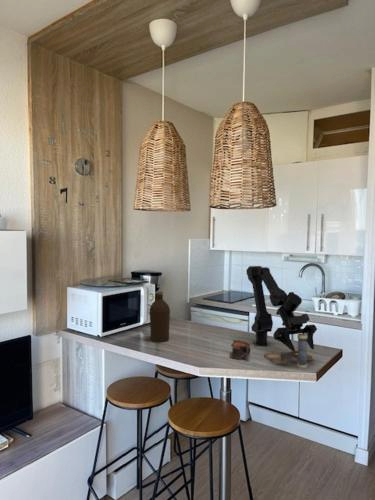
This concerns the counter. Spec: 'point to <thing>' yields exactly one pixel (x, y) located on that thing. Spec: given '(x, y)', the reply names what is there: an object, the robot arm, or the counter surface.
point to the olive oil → (159, 319)
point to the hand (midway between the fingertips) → (303, 350)
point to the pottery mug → (240, 349)
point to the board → (283, 356)
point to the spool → (302, 350)
